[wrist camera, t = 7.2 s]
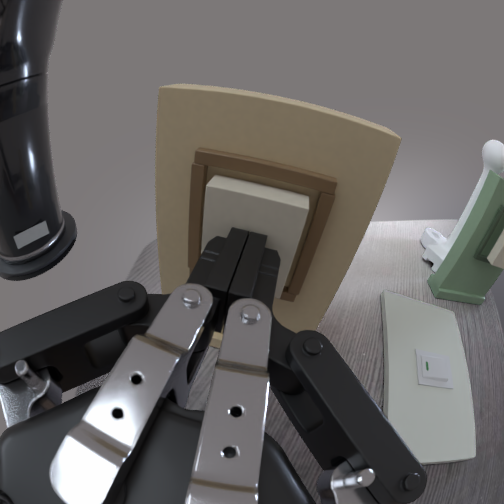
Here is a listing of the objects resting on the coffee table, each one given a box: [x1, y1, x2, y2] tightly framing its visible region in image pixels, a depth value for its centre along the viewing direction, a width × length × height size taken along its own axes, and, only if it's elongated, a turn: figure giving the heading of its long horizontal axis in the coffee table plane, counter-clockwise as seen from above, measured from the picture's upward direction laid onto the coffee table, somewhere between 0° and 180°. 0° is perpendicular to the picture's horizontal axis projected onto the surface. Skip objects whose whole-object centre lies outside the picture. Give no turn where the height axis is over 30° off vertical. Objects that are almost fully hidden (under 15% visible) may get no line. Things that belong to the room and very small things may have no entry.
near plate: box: [155, 84, 402, 348], centre depth 15 cm, size 3×10×16 cm, turn 79°
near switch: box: [201, 175, 309, 298], centre depth 12 cm, size 1×4×5 cm, turn 79°
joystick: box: [420, 140, 504, 273], centre depth 28 cm, size 11×8×20 cm
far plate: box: [427, 170, 504, 305], centre depth 23 cm, size 3×10×16 cm, turn 84°
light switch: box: [381, 290, 476, 465], centre depth 18 cm, size 17×1×10 cm
